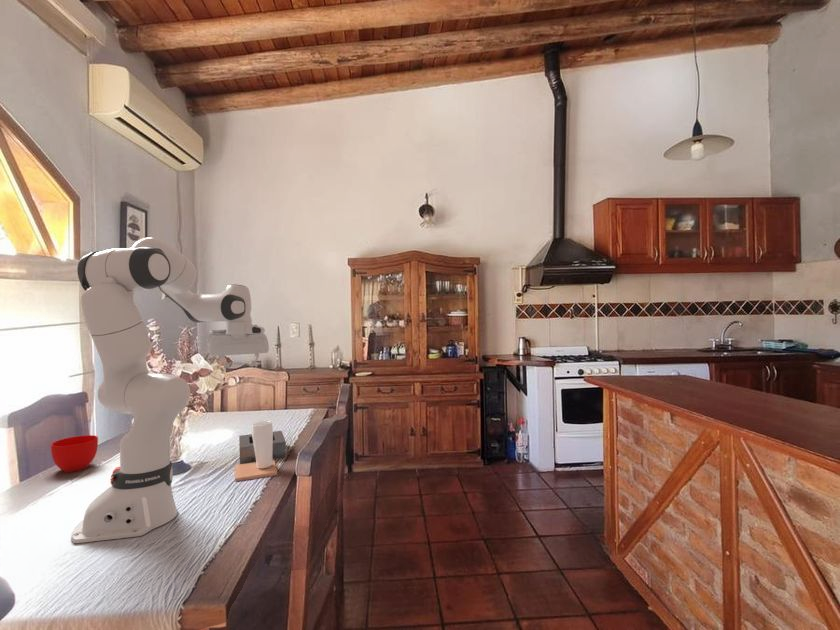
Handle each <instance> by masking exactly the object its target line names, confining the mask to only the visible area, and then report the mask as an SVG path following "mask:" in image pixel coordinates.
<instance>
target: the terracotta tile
mask: <svg viewBox="0 0 840 630" xmlns="http://www.w3.org/2000/svg"><path fill="white" fill-rule="evenodd" d="M234 470H235V471H234V472H235V473H234V475H235V477H234V478H235V479H234V481H235V482H239V481H240V482H241V481H246V480H253V479H260V478H266V477H272V476H278V470H277V464H276V461H275V459H273V464H272V466H270V467H268V468H264V469H260V468H257V466H256V462H251V463H244V464H240V463H239V464H235V466H234Z"/></svg>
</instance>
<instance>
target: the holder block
mask: <svg viewBox="0 0 840 630" xmlns="http://www.w3.org/2000/svg"><path fill="white" fill-rule="evenodd" d="M238 437H239V440H238V441H239V465H240V464H247V463H254V462H256V457H255V451H254V445H253V438H252V433H250V434H242V435H239V436H238ZM286 445H287V441H286V439H285V435H284V434H283V431H282V430H277V431H273V460H278V459H284V458H287V446H286Z"/></svg>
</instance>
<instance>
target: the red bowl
mask: <svg viewBox="0 0 840 630" xmlns="http://www.w3.org/2000/svg"><path fill="white" fill-rule="evenodd" d="M98 446H99V436H97V435H93V434H92V435H91V434H89V435H85V434H84V435H76V436H71V437H66V438H62V439H59V440H58V439H57V440H56V441H54V442H52V443H51V445H50V451H51V457H52V460H53V462H54V464H55V466H56V467H58V468H59V469H60V470H61V471H63V472H64V473H73V472H78V471H82V470H84V469H86V468H88V467H89V465H90V464H91V463H92V462H93V460H94V459H95V457H96V454H97V451H98Z"/></svg>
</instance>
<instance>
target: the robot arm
mask: <svg viewBox="0 0 840 630" xmlns="http://www.w3.org/2000/svg"><path fill="white" fill-rule="evenodd" d="M77 278H78V280H79V282H80V286H81V287H82V289H83V290H84V291H83V293H82V294H81V297H80V300H81V301H80V302H81V308H82V312H83V316H84V320H85V323H86V327H87V329H88V331H89V334H90V337H91V338H92V341H93V343H94V345H95V348H96V351H97V354H98V356H99V358H100V362H101V364H102V370H103V371H102V372H103V380H102V382H101V383H100V385H99V387H98V389H97V398H98V401H99V403H100V404H101V406H103V407H104V408H106V409H109V410H110V411H113V412H116V413H120V414H127V415H132V416H133V422H132V426H131V428H130V430H129V432H127V433H126V434H125V435H124V436H123V437H122V438H121V440H120V442H119V464H120V465H119V466H117V467H115V468H114V469H113V471H112V473H111V476H110V484H111V486H110V487H108V488H106V490H104V491H103V492H101V494H100V495H98V496H97V497H96V498H94V500H93V501H91V502H90V504H89V505H88V507H87V508H86V509H85V512H84V517H83V520H82V521H80V522H79V523H78V524H77V525H76V526H75V528H74V529H73V531H72V533H71V542H72V543H73V544H82V543H91V542H99V541H109V540H118V539H124V538H134V537H141V536H144V535H145V534H146V535H147V534H148V533H150V531H152V530H154V529H157V528H159V527H161V526H163V525H166V524H168V523H169V522H171V521H172V520H173V519H175V518H176V516H177V515H178V513H179V512H178V511H179V510H178V509H177V506H176V503H175V499H174V494H173V493H174V492H173V488H172V482H173V477H174V476H173V474H174V473H173V465H172V464H173V463H172V461H171V456H170V455H171V433H172V430H173V429H172V428H173V426H174V423H175V420H176V418H177V417H178V415H179V414H180V413H181V412H183V410H184V409H185V408H186V407H187V406H188V404H189V402H190V400H191V388H190V384H189V383H188V382H187V381H186V380H185V379H183V378H181V377H178V376H176V375H173V374H168V373H158V372H155V373H154V372H151V371H150V370H149V369H148V367H147V357H148V356H149V355H150V354H151V353H152V350H153V349H152V348H153V344H152V342H151V339H150V336H149V334H148V330H147V329H146V326H145V323H144V321H143V317H142V316H141V312H139V309H138V307H137V305H136V303H135V301H134V293H135V292H137V291H141V290H153V289H156V288H158V289H159V290H160V291H161V293H163V295H165V296H166V297H167V298H168V299H170V300H171V301H172V302H173V303H175V305H177V306H178V307H179V308H180V309H181V310H182V311H183V312H184V313H185V315H186V317H187V318H188V319H189V320H190V321H191V322H193V323H198V324H200V323H207V322H208V323H210V322H211V323H212V322H215V323H216V322H225V329H219V330H218V329H214V330H211V331H209V332H208V334H207V342H208V343H209V348H208V354H209V355H210V356H211V357H219V359H220V360H221V362H222V364H223V368H224V369H227V368H229V362H226V360H225V356H234V355H235V356H237V355H253V354H254V356H255V358H254V360H251V367H257V361H258V359H259V357H260V354H267V353H269V351H270V347H269V340H268V336H267V335H266V334H265V332H266V330H265V327H263V326H260V325H258V324H253V323H252V322H253V319H252V315H251V312H252V298H251V292H250V289H249V287H247V286H246V285H242V284H236V283H235V284H228V285H227V286H226V288H225V290H223V291H222V292H220V293H205V294H204V293H195V292H192V291H191V290H190V288H192V287H193V285H195V282H196V279H197V268H196V267H195V264H194V263H193V262H192V261H191V260H190V259H189V258H188V257H187V256H185V255H184V254H182V253H181V252H180V251H179V250H177V249H176V248H174V247H172V246H171V245H169V244H167V243H166V242H164V241H162V240H161V239H158V238H155V237H144V238H141V239H140V240H138V241H136V242H135V243H134V244H133V245H132V246H131V247H127V248H125V247H124V248H123V247H117V248H111V249H106V250H97V251H93V252H90V253H88V254H86V255H83V256H82V257H81V258H80V259H79V261H78V264H77Z"/></svg>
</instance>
